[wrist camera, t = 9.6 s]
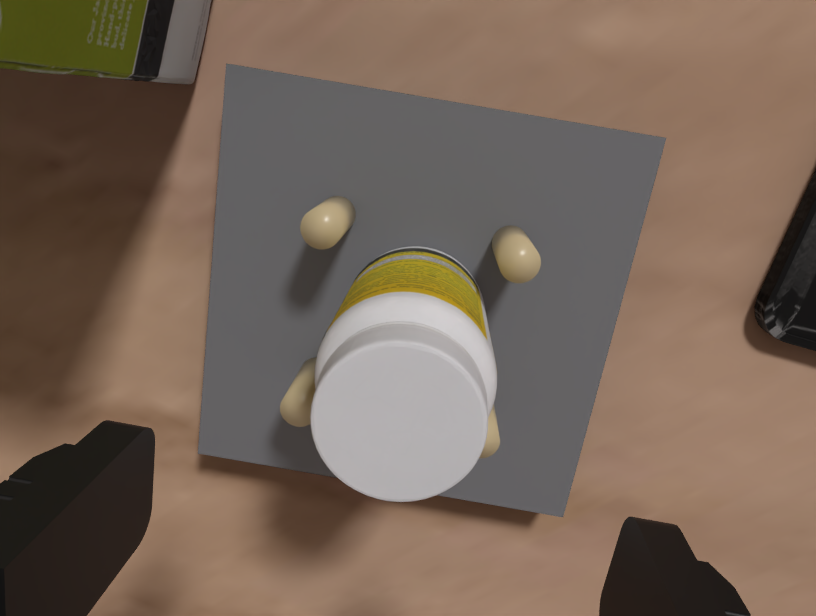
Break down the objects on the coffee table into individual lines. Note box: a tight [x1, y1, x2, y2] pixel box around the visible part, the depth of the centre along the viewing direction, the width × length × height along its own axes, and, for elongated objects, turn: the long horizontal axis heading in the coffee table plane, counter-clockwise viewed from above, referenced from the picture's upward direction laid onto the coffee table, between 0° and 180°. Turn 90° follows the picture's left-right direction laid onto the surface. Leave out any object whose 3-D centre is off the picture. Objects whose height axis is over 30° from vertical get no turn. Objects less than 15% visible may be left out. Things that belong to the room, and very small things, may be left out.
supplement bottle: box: [310, 246, 497, 502], centre depth 18 cm, size 5×5×8 cm
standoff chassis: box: [198, 64, 666, 517], centre depth 22 cm, size 14×14×5 cm
